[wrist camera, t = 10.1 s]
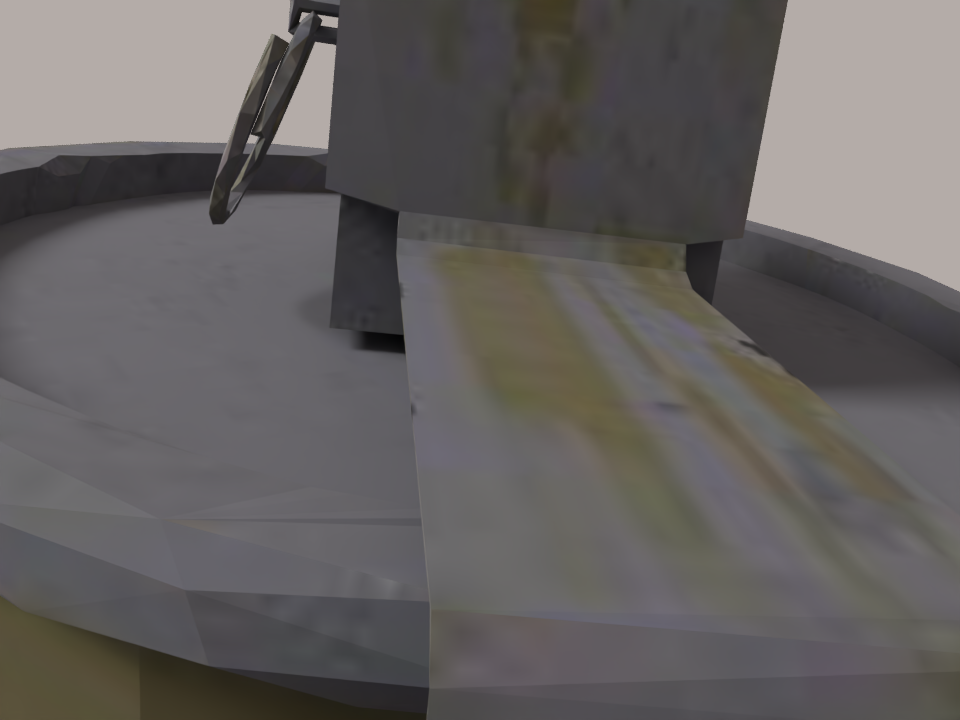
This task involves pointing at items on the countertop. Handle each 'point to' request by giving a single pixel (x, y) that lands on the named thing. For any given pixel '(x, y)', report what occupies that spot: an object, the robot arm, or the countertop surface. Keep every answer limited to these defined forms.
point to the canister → (471, 398)
